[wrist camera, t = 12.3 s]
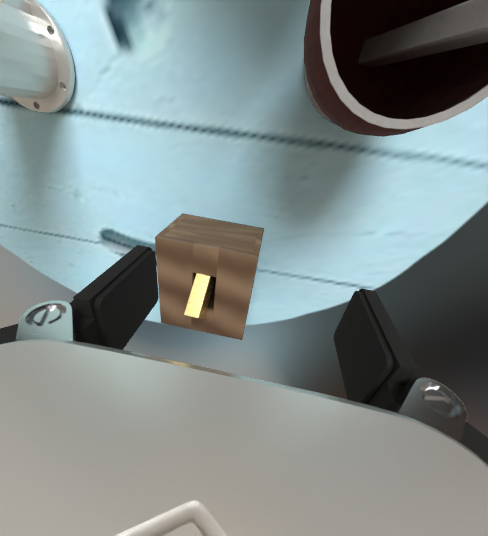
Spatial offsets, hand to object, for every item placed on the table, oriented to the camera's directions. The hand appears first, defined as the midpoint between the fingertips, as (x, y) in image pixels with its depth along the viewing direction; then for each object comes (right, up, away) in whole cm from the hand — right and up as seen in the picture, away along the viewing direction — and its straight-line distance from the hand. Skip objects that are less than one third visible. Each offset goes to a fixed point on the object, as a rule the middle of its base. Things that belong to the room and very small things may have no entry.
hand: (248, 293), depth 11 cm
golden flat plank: (-6, 0, +25) cm, 26 cm away
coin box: (-5, +2, +33) cm, 33 cm away
